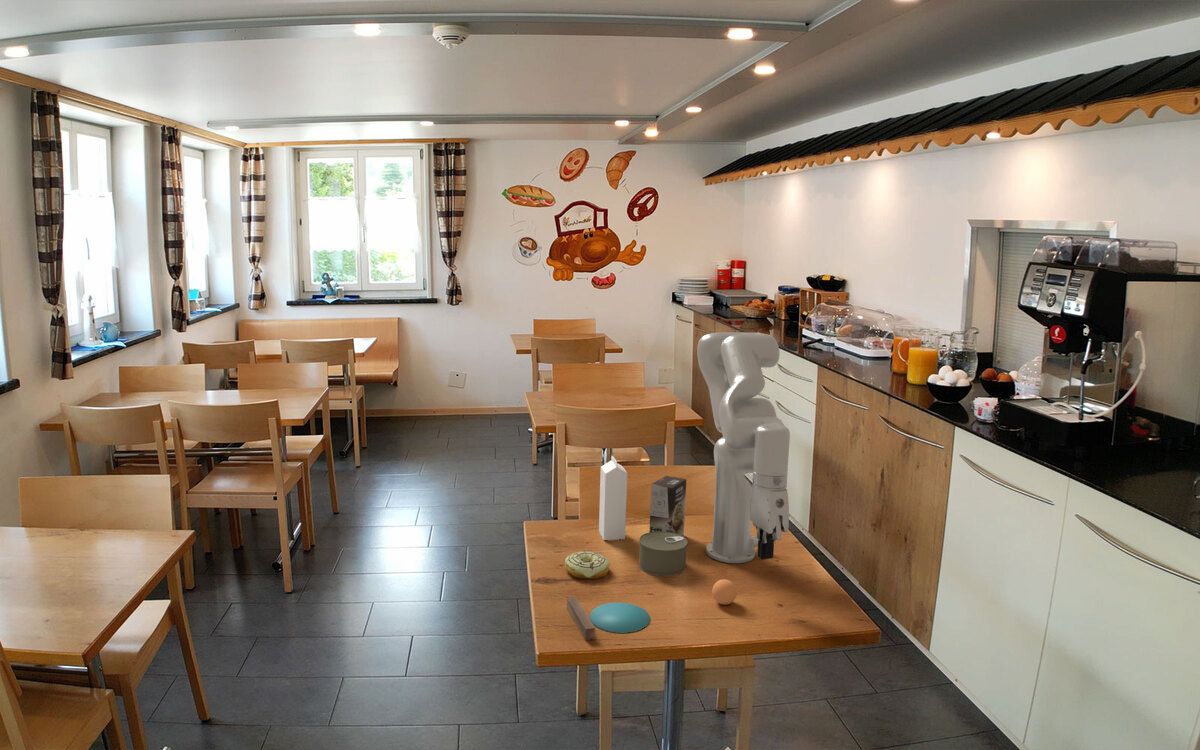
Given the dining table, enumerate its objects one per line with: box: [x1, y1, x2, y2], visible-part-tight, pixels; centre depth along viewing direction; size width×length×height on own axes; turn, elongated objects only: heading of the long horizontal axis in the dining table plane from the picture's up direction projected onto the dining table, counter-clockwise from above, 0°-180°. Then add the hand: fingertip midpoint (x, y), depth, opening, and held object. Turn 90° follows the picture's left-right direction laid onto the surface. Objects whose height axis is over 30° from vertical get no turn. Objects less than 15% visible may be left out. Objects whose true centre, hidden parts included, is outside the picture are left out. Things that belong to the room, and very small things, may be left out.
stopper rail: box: [566, 596, 596, 641], centre depth 172 cm, size 2×14×2 cm, turn 18°
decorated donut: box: [564, 551, 611, 580], centre depth 197 cm, size 10×11×4 cm
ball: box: [711, 578, 738, 605], centre depth 182 cm, size 6×6×6 cm
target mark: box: [589, 602, 651, 634], centre depth 175 cm, size 13×13×1 cm
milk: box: [598, 455, 628, 541], centre depth 217 cm, size 6×6×22 cm
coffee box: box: [648, 475, 687, 537], centre depth 217 cm, size 9×6×16 cm
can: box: [638, 531, 689, 577], centre depth 201 cm, size 12×12×7 cm
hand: (765, 557), depth 183 cm, fingers closed
